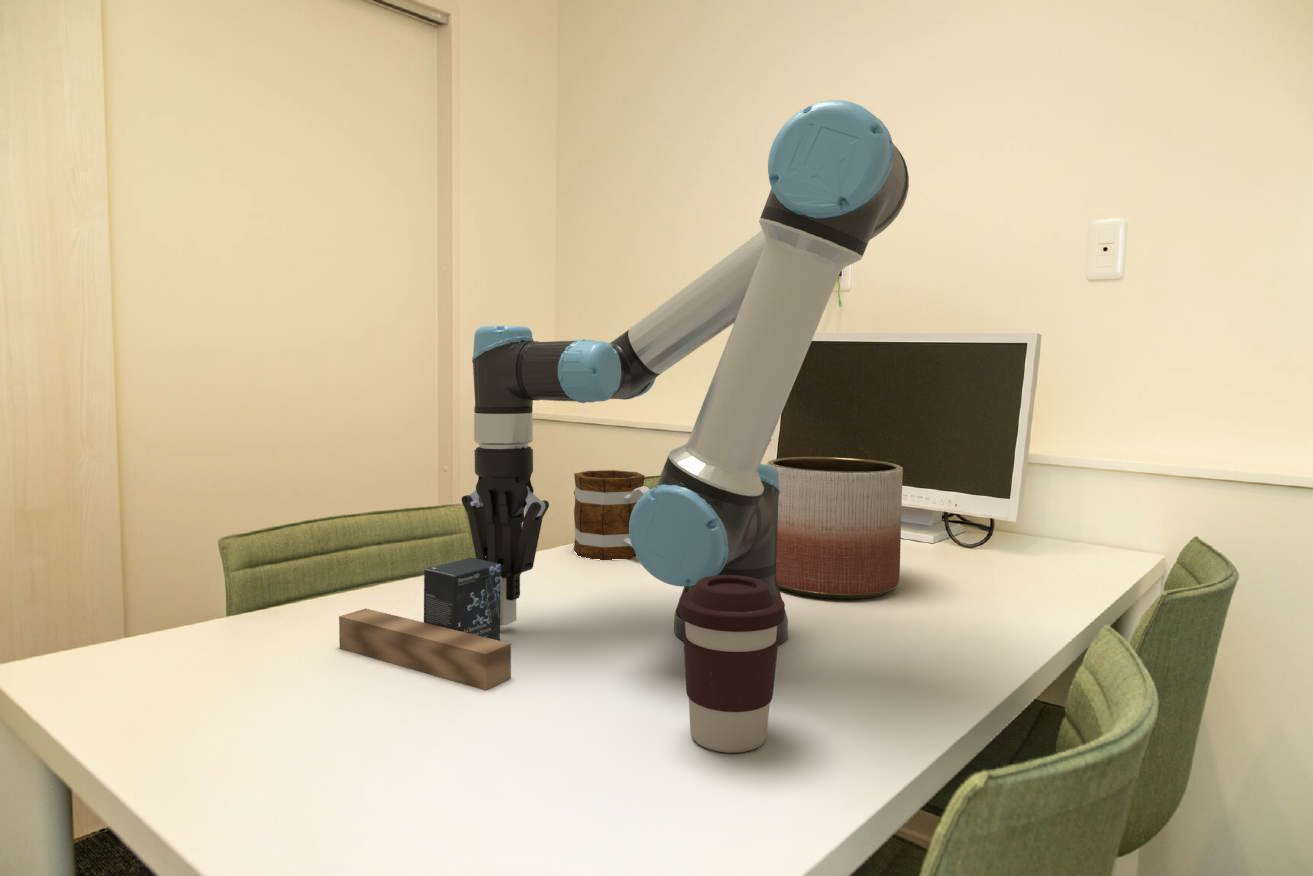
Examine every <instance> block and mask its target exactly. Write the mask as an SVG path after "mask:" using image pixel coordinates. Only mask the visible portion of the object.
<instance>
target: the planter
mask: <svg viewBox="0 0 1313 876" xmlns="http://www.w3.org/2000/svg"><path fill="white" fill-rule="evenodd" d="M766 462H767V463H766V465H771V466H773V467H774V468H775V469H776V470H777V472H778V480H779V487H780V494H779V499H778V529H777V559H776V580H777V583H778V587H779V589H781V590H784V591H787V592H788V593H789V592H790V593H792V594H797V595H801V596H806V597H813V598H819V599H828V600H829V599H830V600H832V599H833V600H858V599H859V600H860V599H869V598H875V597H879V596H882V595H885V594H887V593H889V592H890V591H891V590H894V589H895V588H896V587H897V586H898V585H899V582H900V581H899V580H900V573H901V571H900V570H901V543H902V542H901V541H902V539H901V536H902V535H901V534H902V531H901V530H902V499H903V497H902V495H903V475H904V474H903V473H904V471H903V470H904V469H903V467H902V466H901V465H898V464H895V463H891V462H887V461H879V460H873V459H865V458H864V459H863V458H862V459H861V458H851V457H831V456H830V457H829V456H799V457H798V456H797V457H795V456H794V457H782V458H781V457H780V458H775V459H771V460H769V461H766Z"/></svg>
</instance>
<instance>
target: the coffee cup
mask: <svg viewBox="0 0 1313 876" xmlns="http://www.w3.org/2000/svg"><path fill="white" fill-rule="evenodd" d="M678 602H679V615H680V617H681V618H682V619H683V620H684V621H685V627H686V632H685V634H684V641H683V650H684V651H683V652H684V671H685V672H684V675H685V691H686V696H687V698H688V708H689V731H690V736H691V737H692V739H693V741H695V742H696V743H697V744H699V746H701V747H703V748H706V749H708V750H710V751H715V752H719V753H720V752H721V753H729V754H730V753H731V754H733V753H735V754H737V753H744V752H745V753H747V752H750V751H753V750H756V749H758V748H759V747H760V746H761V745H763V744H764V743H765V741H766V739H767V734H768V727H769V726H768V723H769V717H770V716H769V715H770V705H771V702H772V699H773V696H774V687H775V679H776V678H775V677H776V676H775V675H776V669H777V668H776V667H777V660H778V659H777V658H778V649H779V645H778V638H777V636H776V634H777V625H779V624H781V623H782V622H783V620H784V615H785V611H786V603H785V601H784V600H783V598H782V599H781V598H780V597H778V596H776V595H774V594H771V592H770V589H769V587H768V585H767V584H766V583H765V582H763V581H761V580H758V579H755V578H752V577H746V576H738V575H717V576H710V577H705V578H702V579H700V580H698V581H697V583H696V584H695V587H694V589H693V590H691V591H688V592H686V593H684V594H683V595H682V596H681V595H680V597H679V600H678Z"/></svg>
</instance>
